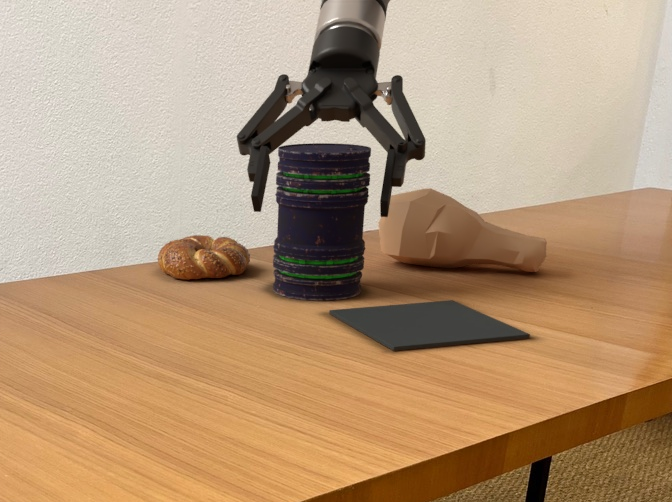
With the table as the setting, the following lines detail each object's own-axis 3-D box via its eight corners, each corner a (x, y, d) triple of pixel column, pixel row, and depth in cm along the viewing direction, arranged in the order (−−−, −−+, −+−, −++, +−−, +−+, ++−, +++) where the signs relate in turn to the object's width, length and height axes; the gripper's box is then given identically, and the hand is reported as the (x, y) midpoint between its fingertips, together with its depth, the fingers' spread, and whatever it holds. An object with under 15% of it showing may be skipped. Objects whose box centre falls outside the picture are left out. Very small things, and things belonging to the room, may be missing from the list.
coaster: (529, 338, 98) (530, 334, 98) (393, 351, 94) (393, 346, 94) (452, 303, 110) (452, 300, 110) (329, 313, 107) (329, 310, 106)
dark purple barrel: (274, 300, 112) (279, 153, 106) (269, 280, 121) (273, 143, 114) (368, 300, 111) (379, 152, 105) (356, 280, 120) (365, 143, 114)
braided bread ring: (212, 286, 118) (212, 253, 116) (136, 274, 124) (135, 243, 122) (268, 268, 127) (269, 237, 125) (194, 258, 133) (195, 228, 131)
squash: (380, 255, 134) (398, 182, 132) (539, 289, 128) (561, 213, 125) (361, 256, 125) (380, 178, 122) (531, 292, 118) (555, 211, 115)
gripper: (459, 73, 118) (438, 232, 111) (242, 72, 124) (210, 222, 118) (463, 21, 111) (441, 188, 104) (233, 23, 118) (198, 180, 111)
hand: (318, 206), depth 111 cm, fingers open, 13 cm apart
